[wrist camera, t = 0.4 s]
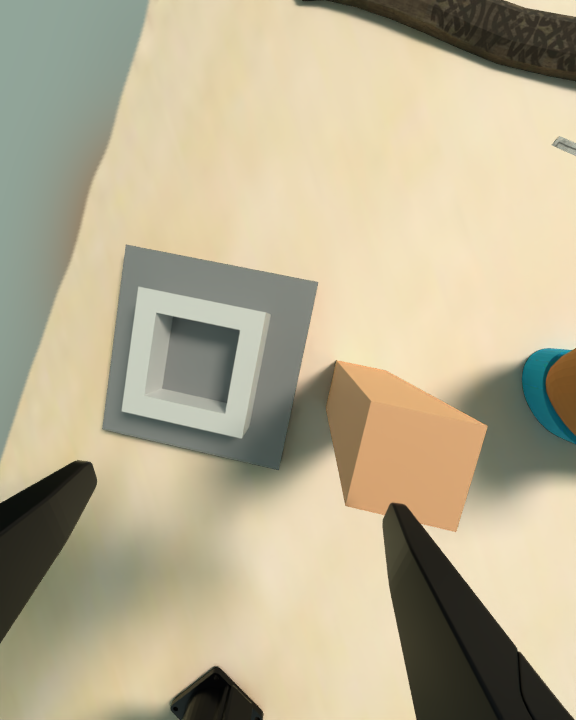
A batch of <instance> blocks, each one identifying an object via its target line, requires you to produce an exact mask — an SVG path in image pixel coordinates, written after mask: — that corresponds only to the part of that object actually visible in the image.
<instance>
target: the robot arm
mask: <svg viewBox="0 0 576 720" xmlns="http://www.w3.org/2000/svg"><path fill="white" fill-rule="evenodd" d="M96 485H97V478H96V474H95V471H94V468H93V465H92V463H91V462H88V461H80V460H77V461H74V462H72V463H70V464H68V465H67V466H65V467H63V468H61V469H60V470H58V471H56V472H54V473H53V474H51V475H49V476H47V477H46V478H44V479H42V480H40V481H39V482H37V483H35V484H33V485H31V486H30V487H28V488H26V489H24V490H23V491H21V492H19V493H17V494H16V495H14V496H12V497H10V498H9V499H7V500H5V501H3V502H2V503H0V643H1V641H2V640H3V638H4V637H5V635H6V634H7V632H8V631H9V629H10V628H11V626H12V625H13V623H14V622H15V620H16V619H17V617H18V615H19V614H20V612H21V611H22V609H23V608H24V606H25V605H26V603H27V602H28V600H29V599H30V597H31V596H32V594H33V592H34V591H35V589H36V588H37V586H38V585H39V583H40V582H41V580H42V579H43V577H44V576H45V574H46V573H47V571H48V570H49V568H50V566H51V565H52V563H53V562H54V560H55V559H56V557H57V556H58V554H59V553H60V551H61V550H62V548H63V546H64V545H65V543H66V542H67V540H68V538H69V536H70V535H71V533H72V531H73V529H74V527H75V525H76V524H77V522H78V520H79V518H80V516H81V514H82V512H83V510H84V509H85V507H86V505H87V503H88V501H89V499H90V497H91V495H92V494H93V492H94V490H95V488H96ZM383 535H384V545H385V554H386V563H387V572H388V580H389V587H390V593H391V598H392V603H393V608H394V612H395V617H396V622H397V627H398V632H399V637H400V641H401V646H402V651H403V656H404V661H405V666H406V671H407V675H408V680H409V685H410V690H411V695H412V700H413V705H414V709H415V714H416V719H417V720H574V718H573V717H572V716H571V715H570V714H569V712H568V711H567V710H566V709H565V708H564V706H563V705H562V704H561V703H560V701H559V700H558V699H557V698H556V696H555V695H554V694H553V693H552V691H551V690H550V689H549V688H548V686H547V685H546V684H545V683H544V681H543V680H542V679H541V678H540V676H539V675H538V674H537V673H536V671H535V670H534V669H533V668H532V666H531V665H530V664H529V662H528V661H527V660H526V659H525V657H524V656H523V655H522V653H521V652H518V650H517V647H516V646H515V645H514V643H513V642H512V641H511V639H510V638H509V637H508V636H507V634H506V633H505V632H504V630H503V629H502V628H501V627H500V625H499V624H498V623H497V621H496V620H495V619H494V618H493V616H492V615H491V614H490V612H489V611H488V610H487V609H486V607H485V606H484V605H483V603H482V602H481V601H480V600H479V598H478V597H477V596H476V594H475V593H474V592H473V591H472V589H471V588H470V587H469V585H468V584H467V583H466V582H465V580H464V579H463V578H462V576H461V575H460V574H459V573H458V571H457V570H456V569H455V567H454V566H453V565H452V564H451V562H450V561H449V560H448V558H447V557H446V556H445V555H444V553H443V552H442V551H441V549H440V548H439V547H438V546H437V544H436V543H435V542H434V540H433V539H432V538H431V537H430V535H429V534H428V533H427V531H426V530H425V529H424V528H423V526H422V525H421V524H420V522H419V521H418V520H417V519H416V517H415V516H414V515H413V513H412V512H411V511H410V510H409V508H408V507H407V506H406V505H405V504H401V503H394V502H392V503H390V505H389V507H388V509H387V511H386V513H385V516H384V518H383ZM170 709H171V711H172V712H173V713H174V714H175V715H176V716H177V717H178V718H179V719H180V720H263V712H262V710H261V709H260V708H259V707H258V706H257V705H256V704H255V703H254V702H253V701H252V700H251V699H250V698H249V697H248V696H247V695H246V694H245V693H244V692H243V691H242V690H241V689H240V688H239V687H238V686H237V685H236V684H235V683H234V682H233V681H232V680H231V679H230V678H229V677H228V676H227V675H226V674H225V673H224V672H223V671H222V670H221V669H220V668H214V669H213V670H211V671H210V672H209V673H208V674H206V675H205V676H204V677H202V678H201V679H200V680H199V681H197V682H196V683H195V684H193V685H192V686H191V687H190V688H188V689H187V690H186V691H184V692H183V693H182V694H181V695H179V696H178V697H177V698H176V699H174V700H173V702H172V705H171V708H170Z"/></svg>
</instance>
